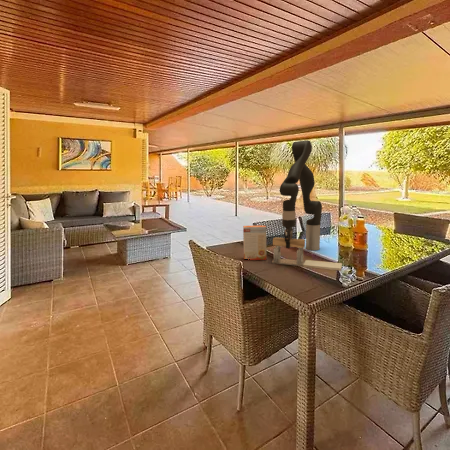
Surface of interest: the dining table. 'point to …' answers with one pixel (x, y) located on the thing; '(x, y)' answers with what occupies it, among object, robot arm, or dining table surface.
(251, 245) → the cracker box
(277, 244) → the rail
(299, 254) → the standards
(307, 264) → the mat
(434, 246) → the dining table surface
